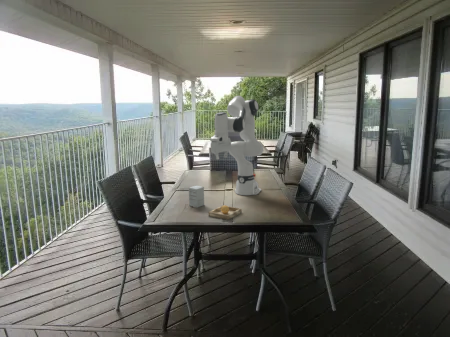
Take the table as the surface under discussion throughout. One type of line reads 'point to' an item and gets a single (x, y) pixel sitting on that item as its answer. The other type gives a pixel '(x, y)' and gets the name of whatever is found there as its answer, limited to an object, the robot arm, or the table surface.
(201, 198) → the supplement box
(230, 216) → the tray
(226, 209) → the ball
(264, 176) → the table surface
